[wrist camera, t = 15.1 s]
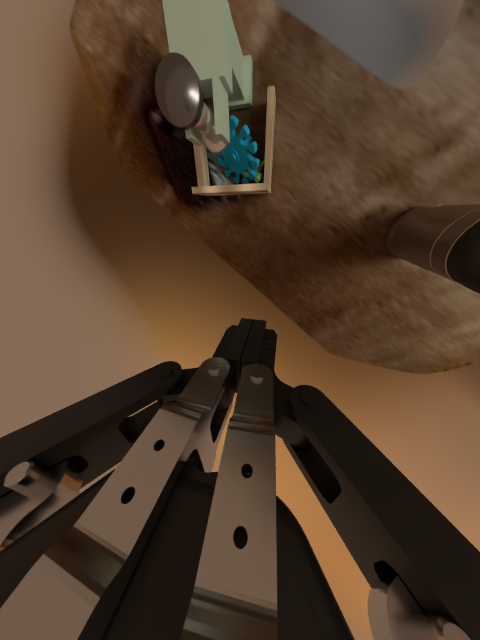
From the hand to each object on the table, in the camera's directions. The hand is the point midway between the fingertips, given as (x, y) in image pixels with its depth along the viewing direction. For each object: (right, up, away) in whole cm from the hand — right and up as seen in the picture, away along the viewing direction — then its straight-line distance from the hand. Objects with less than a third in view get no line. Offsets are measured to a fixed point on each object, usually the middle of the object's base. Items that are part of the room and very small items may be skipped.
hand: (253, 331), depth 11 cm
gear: (0, +33, +25) cm, 41 cm away
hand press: (-2, +38, +22) cm, 44 cm away
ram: (-4, +28, +15) cm, 32 cm away
